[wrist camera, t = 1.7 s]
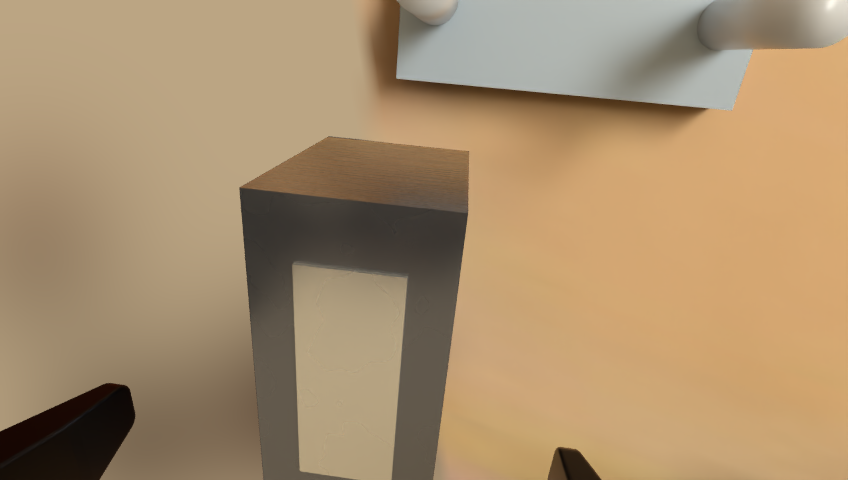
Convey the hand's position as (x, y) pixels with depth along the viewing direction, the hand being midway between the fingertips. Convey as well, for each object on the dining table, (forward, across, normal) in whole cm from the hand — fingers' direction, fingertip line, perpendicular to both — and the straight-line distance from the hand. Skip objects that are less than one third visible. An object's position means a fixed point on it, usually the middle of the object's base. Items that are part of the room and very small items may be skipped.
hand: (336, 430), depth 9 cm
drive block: (+7, 0, 0) cm, 7 cm away
